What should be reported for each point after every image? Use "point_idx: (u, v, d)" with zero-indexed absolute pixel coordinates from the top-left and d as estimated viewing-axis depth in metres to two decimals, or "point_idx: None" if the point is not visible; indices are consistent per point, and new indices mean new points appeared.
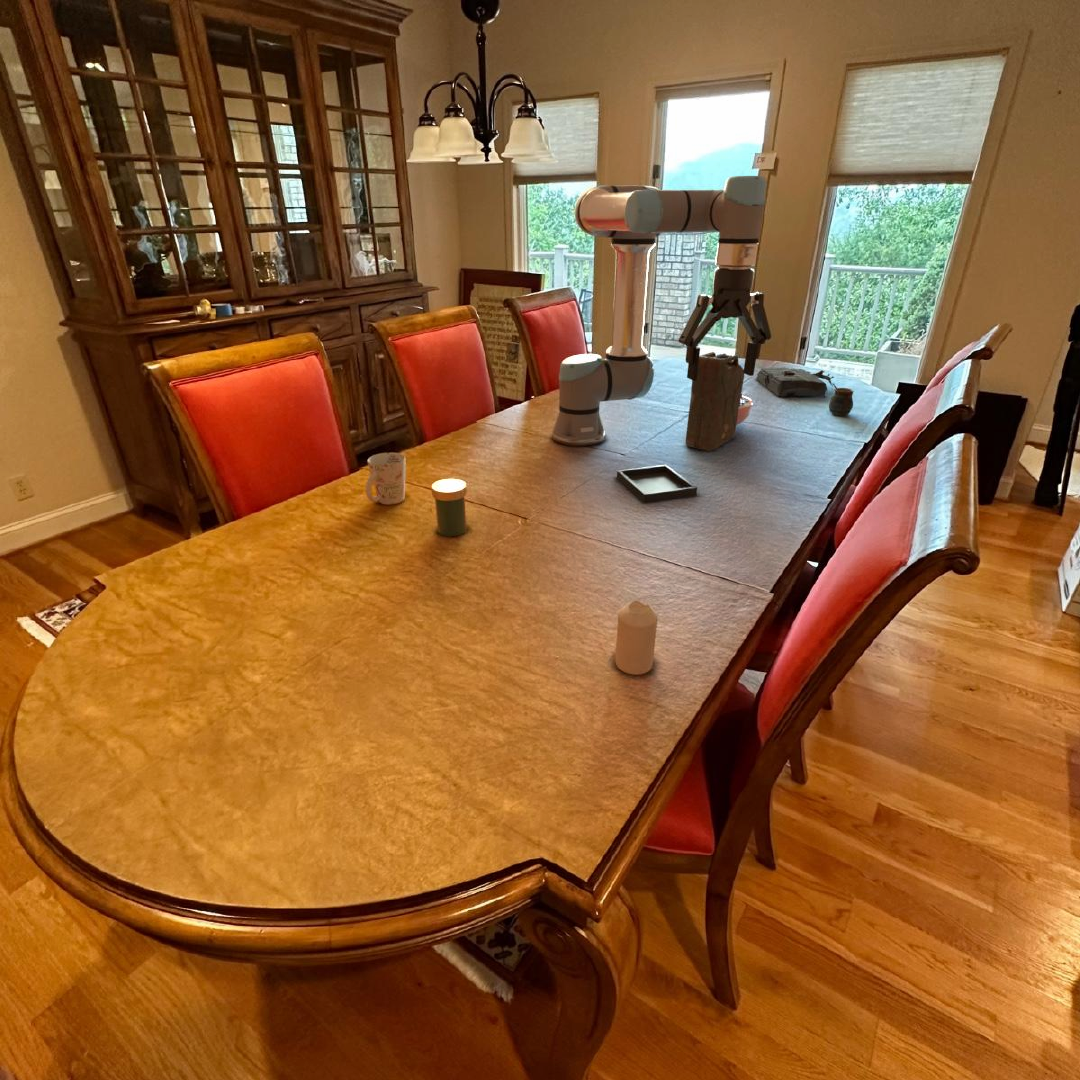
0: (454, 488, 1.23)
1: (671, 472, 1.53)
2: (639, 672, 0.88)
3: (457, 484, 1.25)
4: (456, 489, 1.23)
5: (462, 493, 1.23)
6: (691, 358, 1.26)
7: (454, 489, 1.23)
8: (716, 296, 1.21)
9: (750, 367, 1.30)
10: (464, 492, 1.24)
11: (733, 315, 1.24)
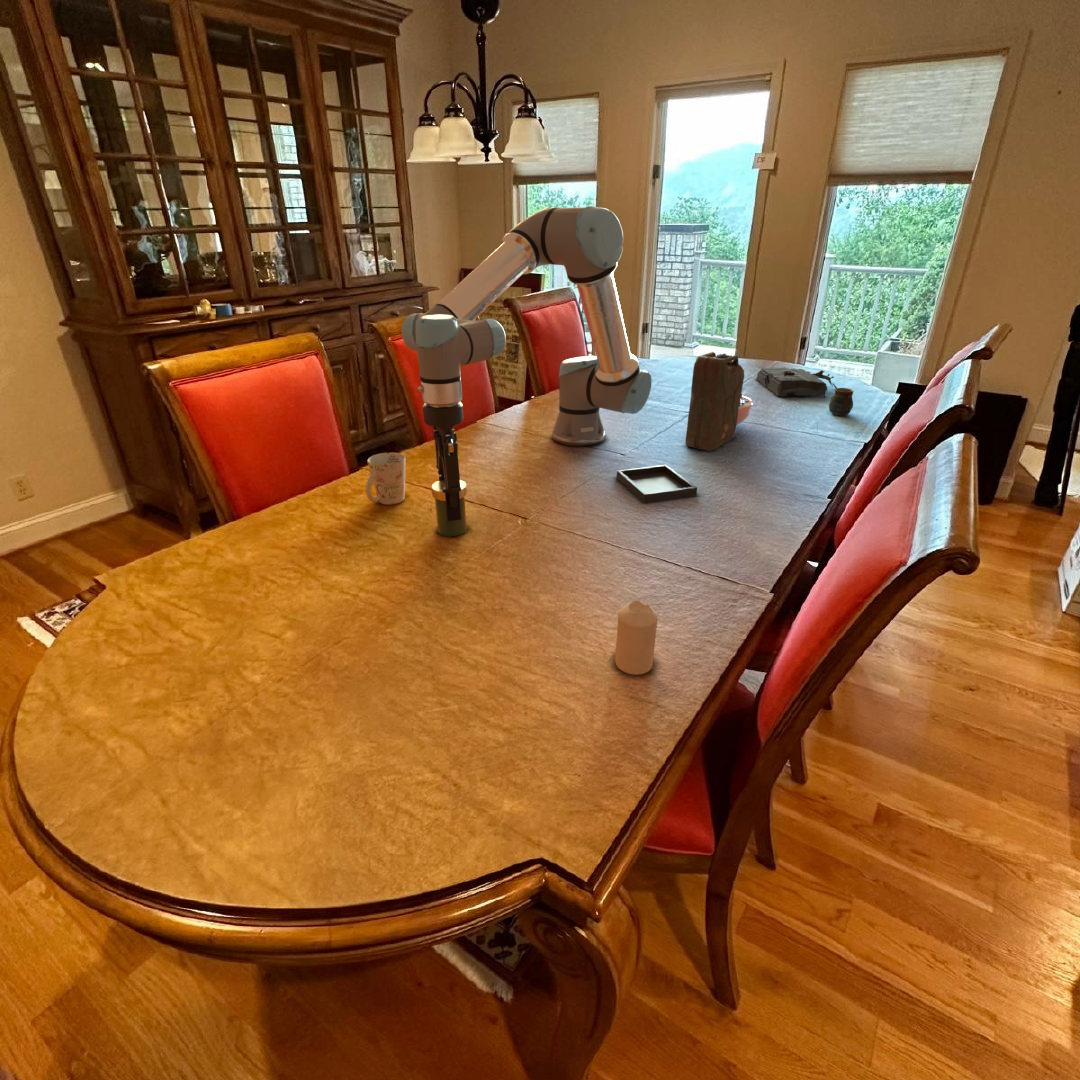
0: None
1: (671, 472, 1.53)
2: (639, 672, 0.88)
3: None
4: None
5: (462, 493, 1.23)
6: None
7: None
8: None
9: None
10: (464, 492, 1.24)
11: None
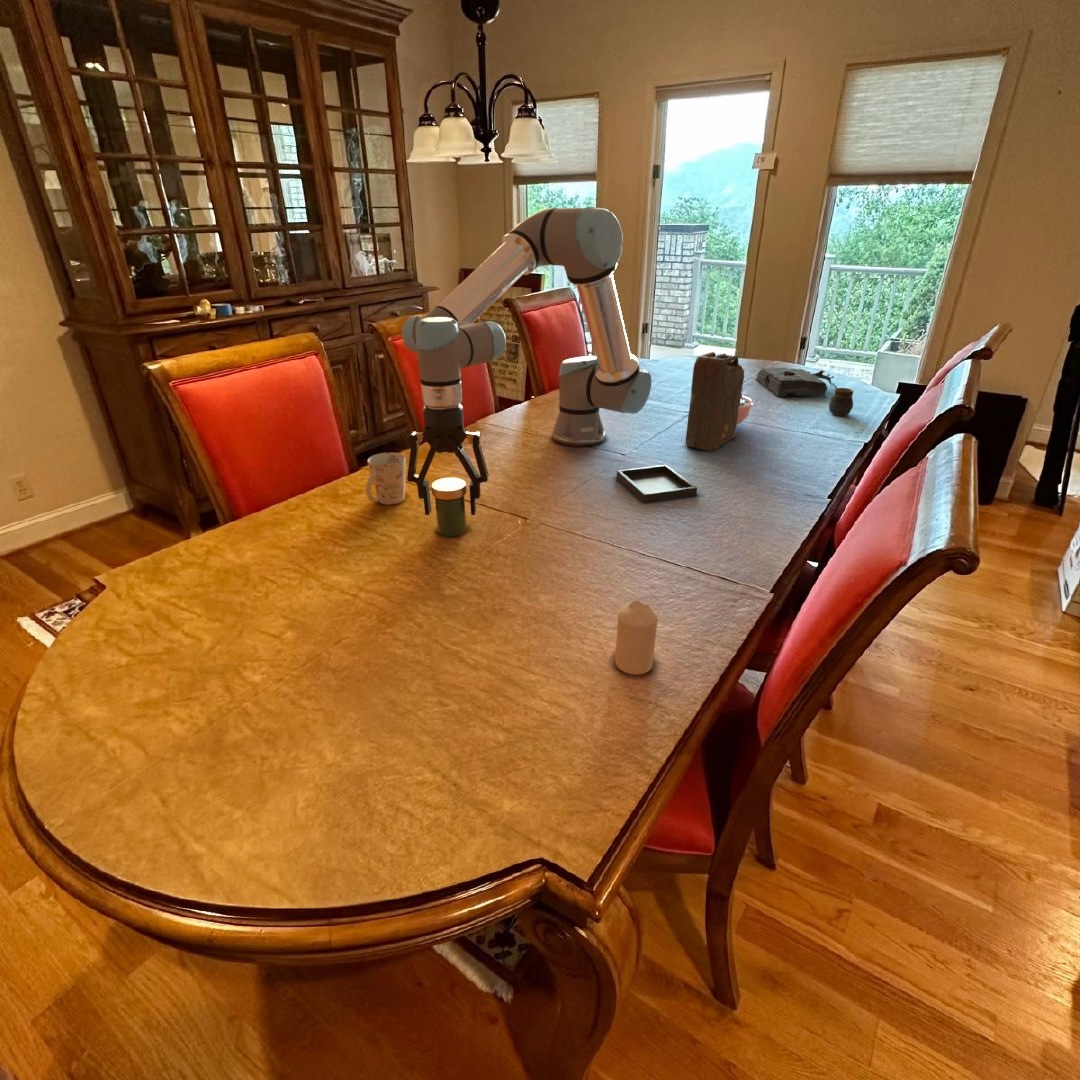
0: (457, 481, 1.25)
1: (671, 472, 1.53)
2: (639, 672, 0.88)
3: (447, 481, 1.26)
4: (460, 480, 1.26)
5: None
6: (420, 493, 1.25)
7: (460, 481, 1.26)
8: (424, 431, 1.18)
9: None
10: None
11: (447, 450, 1.20)
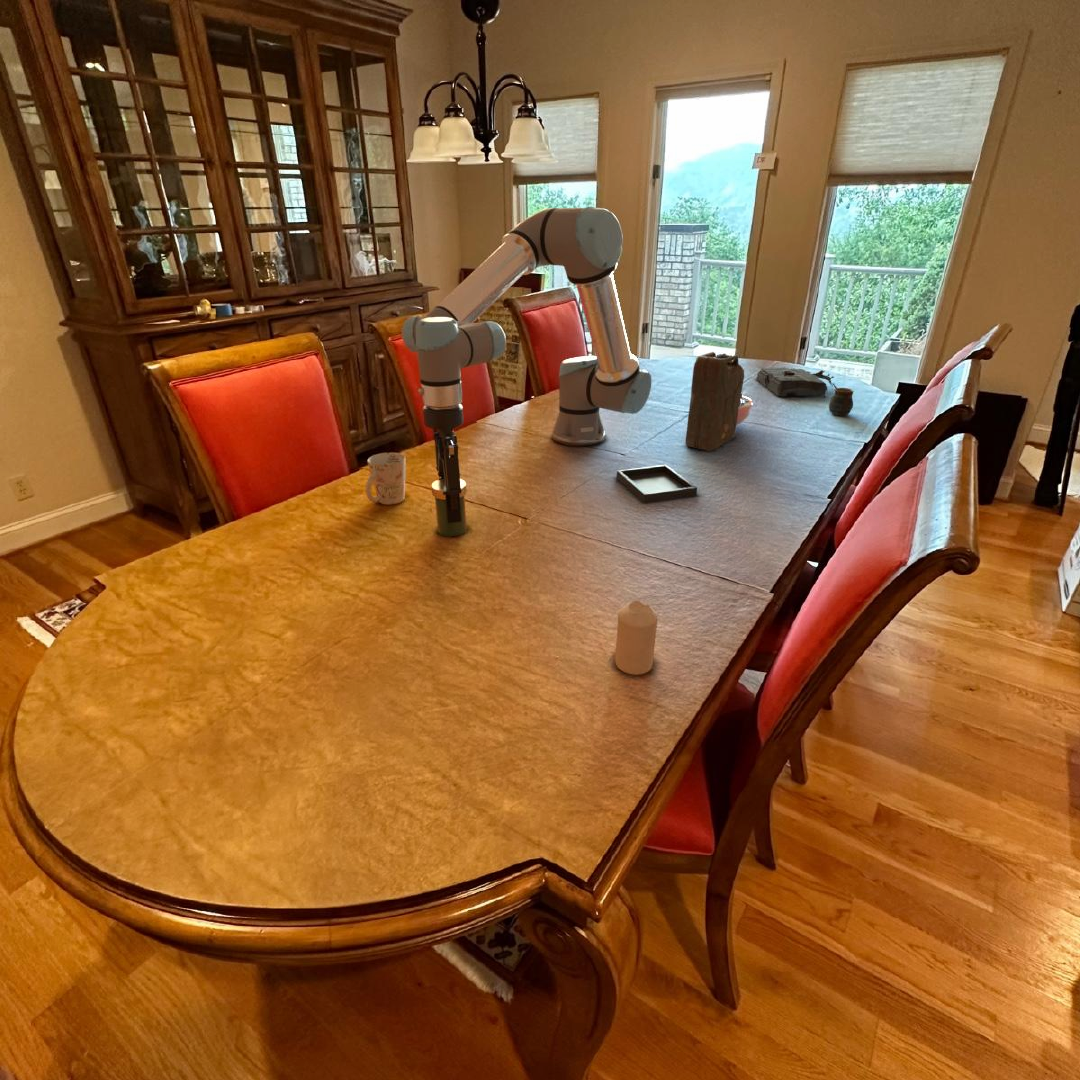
0: None
1: (671, 472, 1.53)
2: (639, 672, 0.88)
3: None
4: (460, 480, 1.26)
5: None
6: None
7: (460, 481, 1.26)
8: None
9: None
10: None
11: None
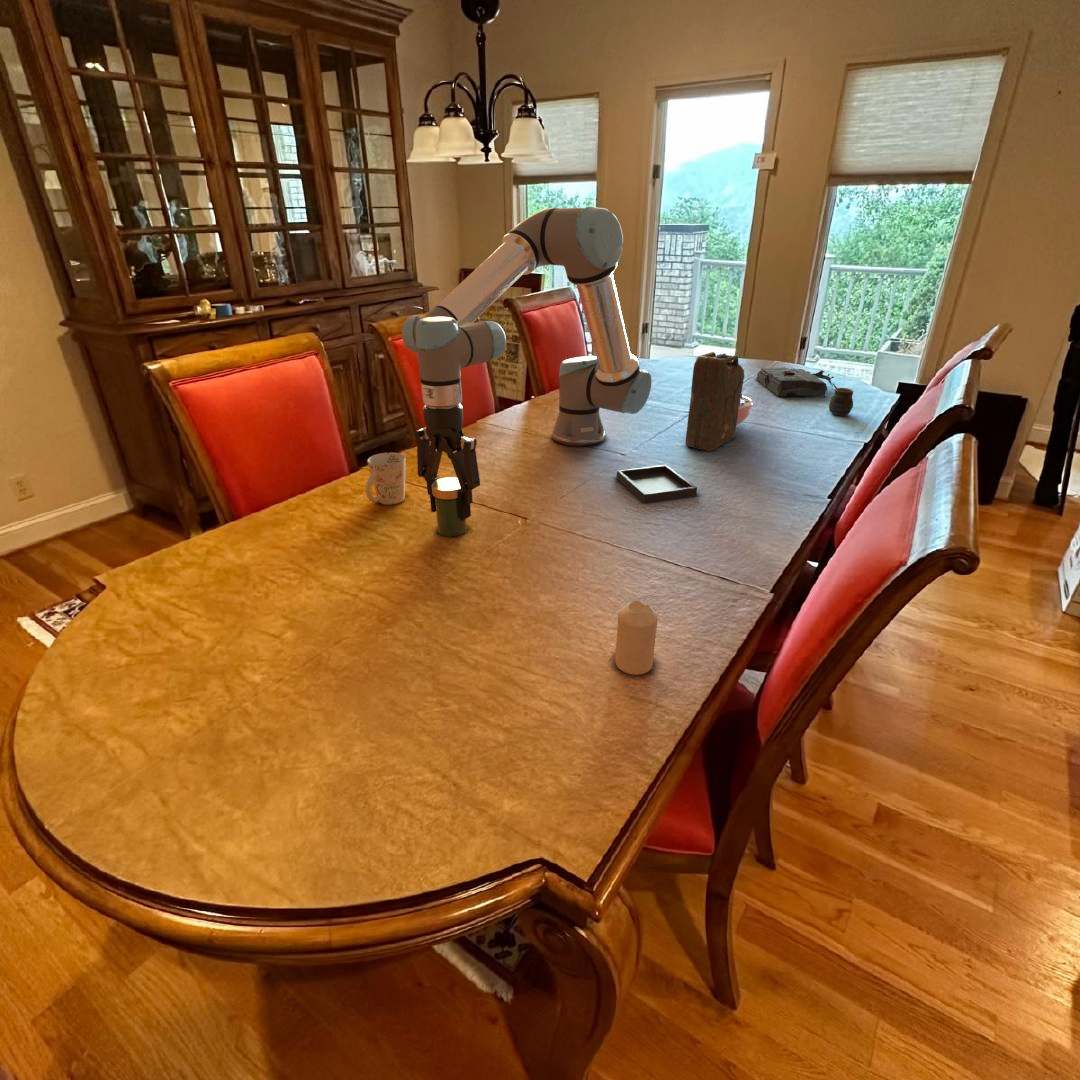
0: (451, 480, 1.26)
1: (671, 472, 1.53)
2: (639, 672, 0.88)
3: (442, 481, 1.25)
4: (452, 478, 1.27)
5: None
6: (429, 490, 1.27)
7: (453, 479, 1.26)
8: (426, 428, 1.20)
9: None
10: None
11: (444, 450, 1.20)
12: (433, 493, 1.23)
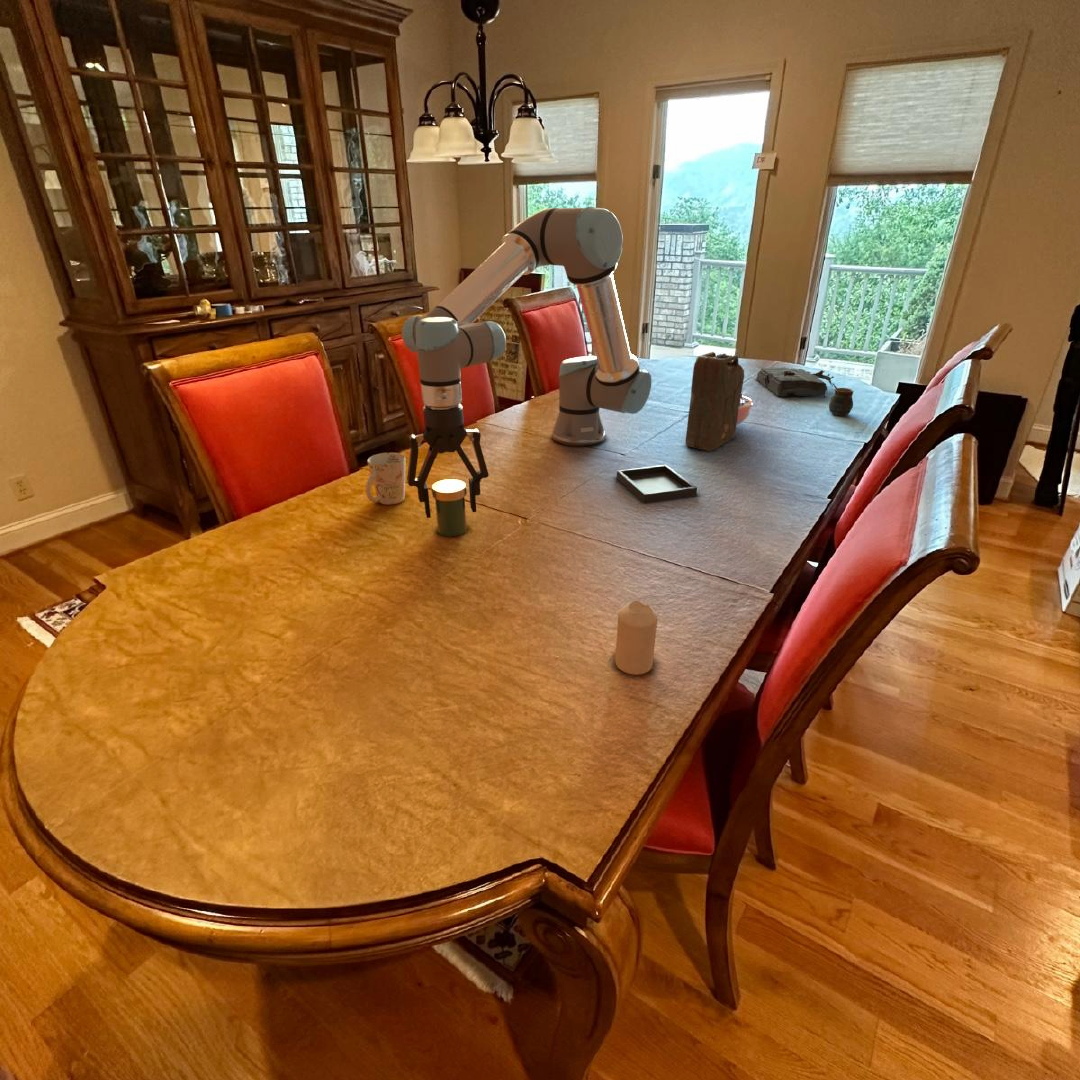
0: (443, 482, 1.26)
1: (671, 472, 1.53)
2: (639, 672, 0.88)
3: (440, 486, 1.24)
4: (441, 481, 1.26)
5: None
6: (421, 497, 1.23)
7: (443, 481, 1.26)
8: (425, 433, 1.17)
9: (472, 504, 1.27)
10: None
11: (449, 450, 1.20)
12: (444, 498, 1.22)
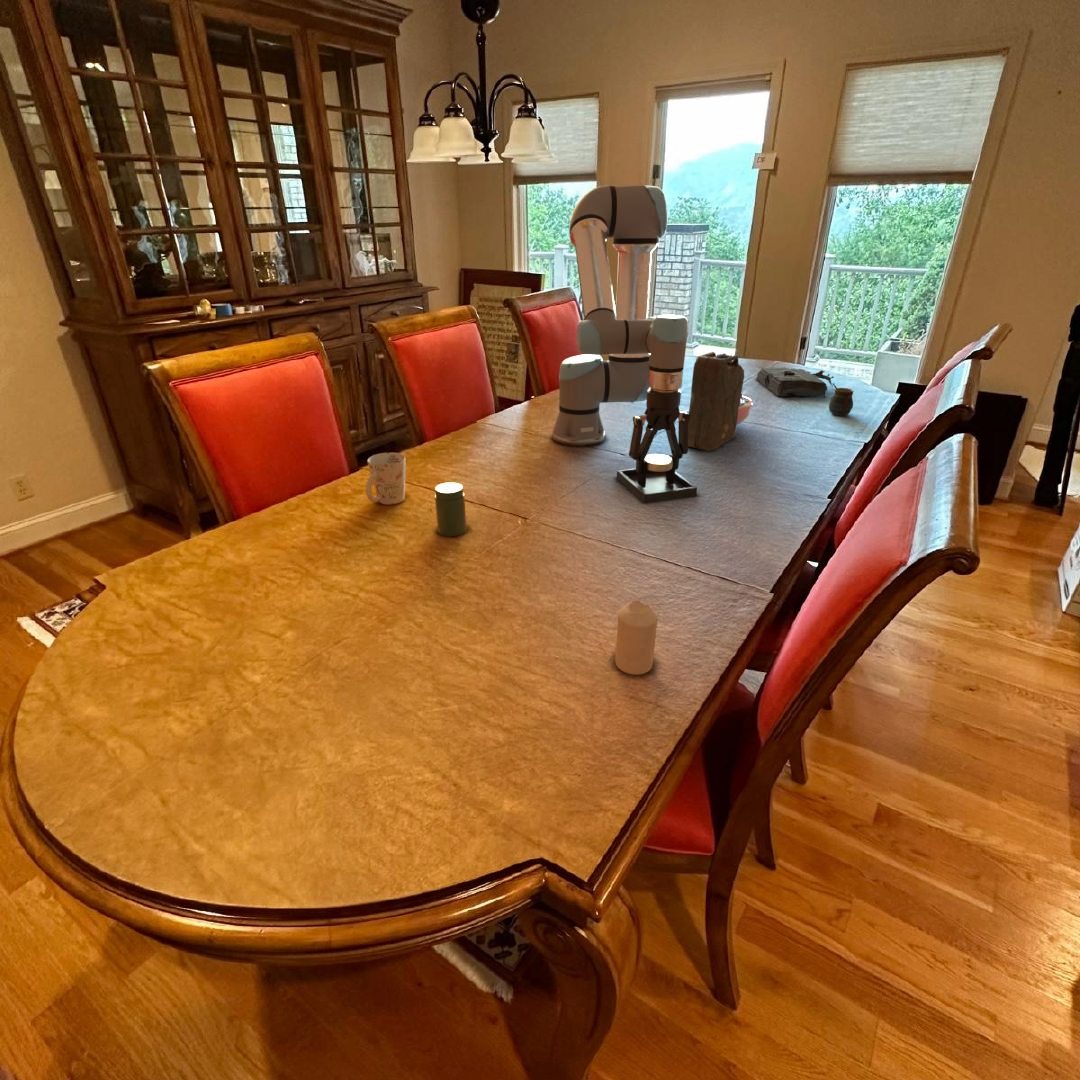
0: (651, 460, 1.45)
1: None
2: (639, 672, 0.88)
3: (660, 461, 1.44)
4: (649, 461, 1.44)
5: (651, 467, 1.44)
6: (640, 469, 1.45)
7: (649, 460, 1.44)
8: (648, 413, 1.39)
9: (671, 477, 1.48)
10: (654, 468, 1.43)
11: (664, 427, 1.41)
12: None
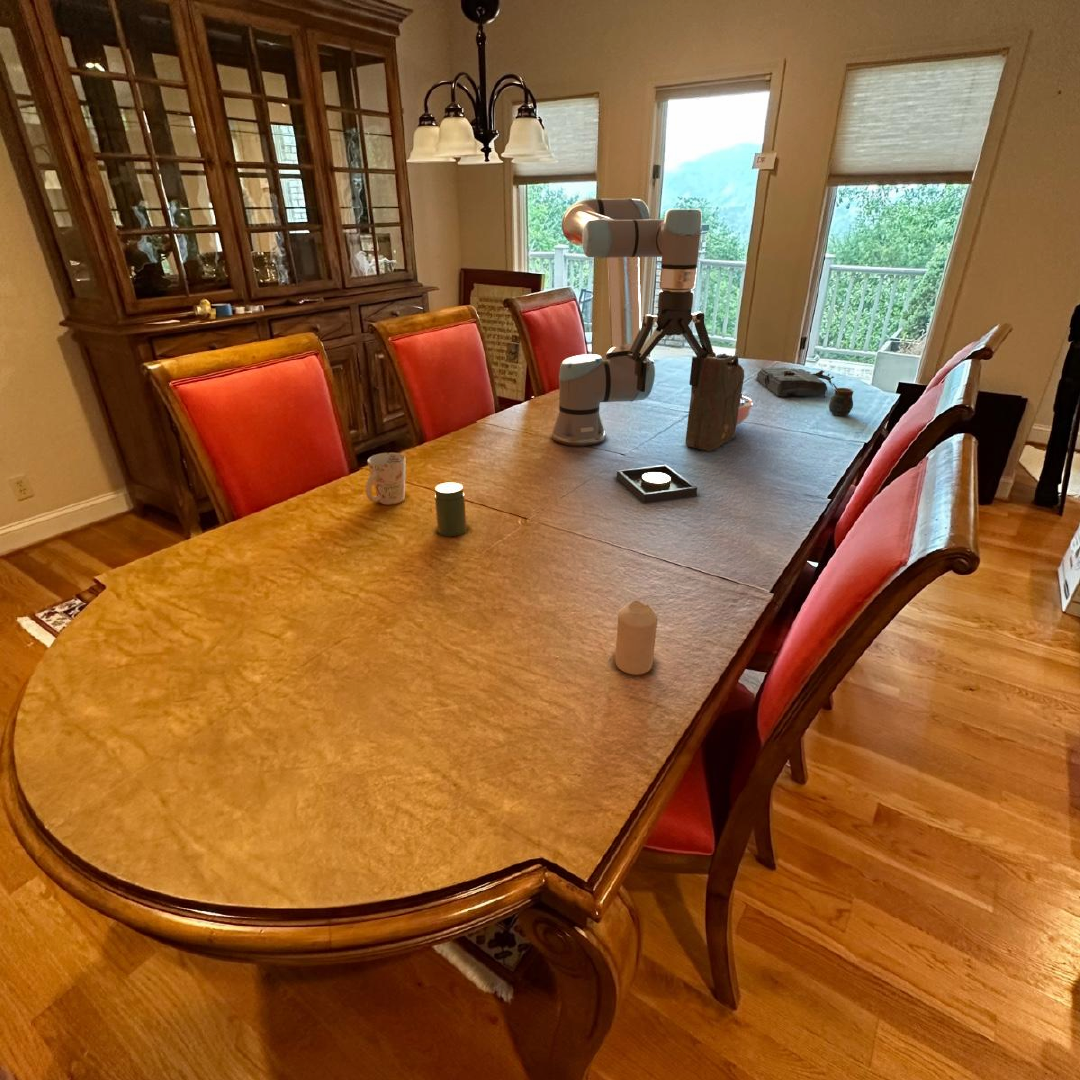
0: (650, 479, 1.47)
1: (671, 472, 1.53)
2: (639, 672, 0.88)
3: (658, 480, 1.46)
4: (648, 480, 1.46)
5: (649, 486, 1.46)
6: (639, 371, 1.38)
7: (647, 479, 1.47)
8: (660, 316, 1.33)
9: (695, 379, 1.43)
10: (652, 486, 1.45)
11: (676, 333, 1.36)
12: None
